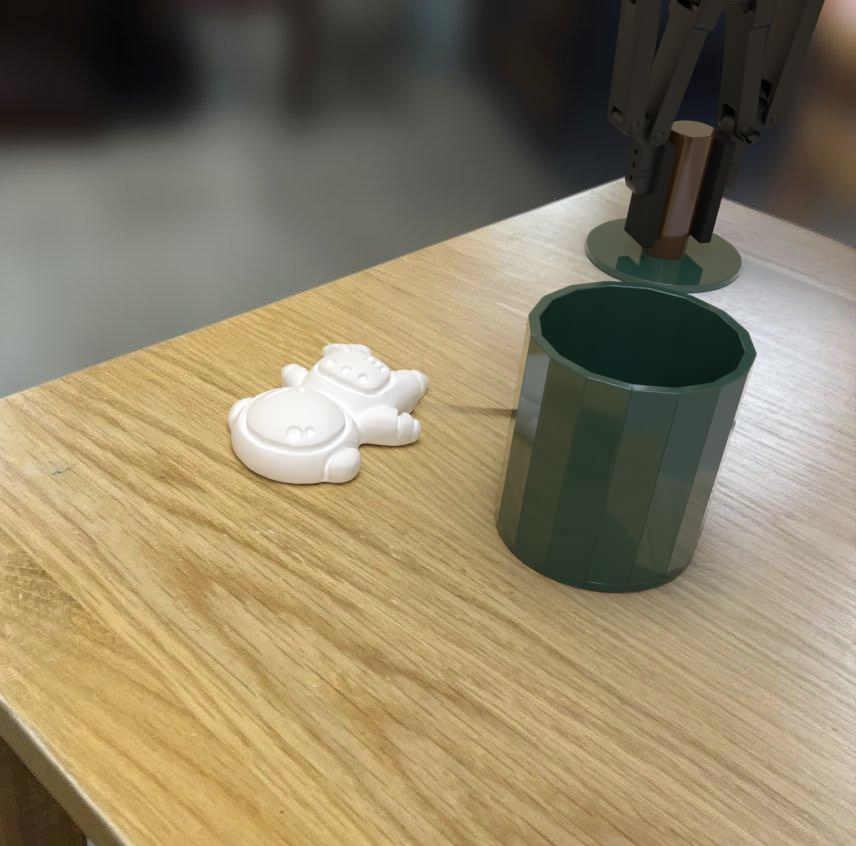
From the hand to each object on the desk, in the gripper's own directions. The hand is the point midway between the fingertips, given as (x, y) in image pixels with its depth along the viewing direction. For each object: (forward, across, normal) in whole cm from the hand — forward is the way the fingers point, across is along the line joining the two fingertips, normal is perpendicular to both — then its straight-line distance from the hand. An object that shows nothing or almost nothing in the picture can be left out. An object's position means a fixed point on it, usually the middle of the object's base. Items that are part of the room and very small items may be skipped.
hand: (667, 235), depth 79 cm
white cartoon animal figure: (+2, +26, +14) cm, 30 cm away
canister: (+2, +16, +25) cm, 30 cm away
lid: (+1, 0, 0) cm, 1 cm away
